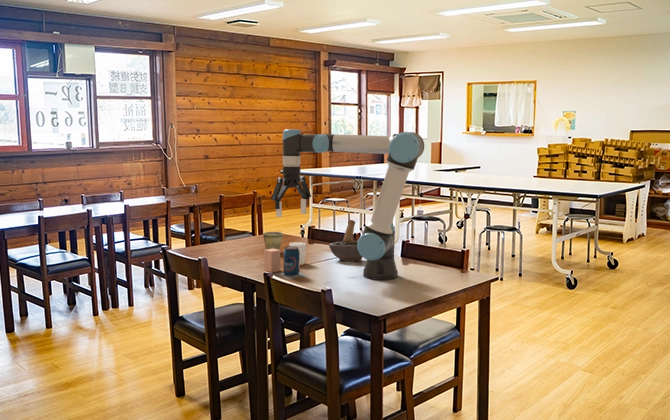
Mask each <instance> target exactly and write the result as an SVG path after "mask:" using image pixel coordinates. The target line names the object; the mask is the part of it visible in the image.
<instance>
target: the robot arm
mask: <svg viewBox="0 0 670 420" xmlns="http://www.w3.org/2000/svg"><path fill="white" fill-rule="evenodd" d="M281 141H282V165H283V166H282V175H283V177H277V179H276V184H275V187H274V189H273V193H272V194H271V197H270V200H271V201H274V208H275V210H276V213H275V214H276V215H275V216H276V217H277V218H282V217H283V215H282V214H283V210H282V209H283V208H282V207H283V206H282V205H283V204H282V203H283V202H282V201H281V200H282V198H283V197H284V195H286V192H287V191H288V190H289V189H293V188H294V189H296V191H297V192H298V193H299V195H300V197H301V198H300V214H302V215H306V214H307V207H308V200H309V199H310V198H311V197H312V194H311V192H310V188H309V186H308V184H307V181H306V180H307V179H306V176H302V175H301V153H317V154H318V153H319V154H321V153H322V154H323V153H326V152H331V153H333V152H334V153H335V152H336V153H353V154H355V153H356V154H358V153H359V154H360V153H361V154H377V155H378V154H381V155H387V158H386V164H387V165H388V168H387V171H386V173H385V176H384V179H383V182H382V185H381V189H380V192H379V193H378V197H377V200H376V203H375V207H374V210H373V213H372V215H371V219H370V221H367V222H366V223H365V224H364V228H363V231H362V234H361V235H360V237H359V238H358V240H357V242H358V243H357V249H358V251H359V253H360V255H361V256H362V259H365V260H366V261H365V266H364V268H363V271H362V272H363V273H362V275H363V277H364V278H367V279H371V280H375V281H376V280H378V281H380V280H381V281H386V280H387V281H388V280H394V279H396V278H398V276H399V271H398V269H397V264H396V260H395V248H396V247H395V246H396V245H395V242H396V227H395V226H394V225H393V224H392V223H393V221H394V218H395V215H396V213H397V210H398V207H399V203H400V201H401V197H402V195H403V191H404V188H405V185H406V182H407V180H408V176H409V173H411V172H412V171H414V170H415V167H416V164H417V161H418V158H420V157H421V156H422V155H423V154H424V151H425V142H424V139H423V138H422V136H421V135H419V133H416V132H413V131H409V132H408V131H403V132H399V133H393V134H392V135H369V134H368V135H367V134H366V135H365V134H364V135H363V134H362V135H361V134H339V133H337V134H336V133H335V134H331V133H320V134H319V133H317V134H315V133H313V134H303V133H301V130H300V129H295V128H294V129H292V128H291V129H290V128H289V129H288V128H286V129H284V130H283V131H282V140H281Z"/></svg>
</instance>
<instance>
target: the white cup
mask: <svg viewBox="0 0 670 420" xmlns="http://www.w3.org/2000/svg"><path fill="white" fill-rule="evenodd" d="M288 246H295V247H298V249H299V266H302V265H305V264H306V263H305V262H306V252H307V251H306V250H307V249H306V248H307V247H306V246H307V243H305V242H300V241H298V242H296V241H295V242H294V241H293V242H290V243H288Z"/></svg>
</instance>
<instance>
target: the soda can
mask: <svg viewBox="0 0 670 420" xmlns="http://www.w3.org/2000/svg"><path fill="white" fill-rule="evenodd" d="M283 272H284V274H285V275H286V276H297V275H298V274H299V272H300V265H299V249H298V247H295V246H289V245H288V246H285V247H284V250H283Z"/></svg>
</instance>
